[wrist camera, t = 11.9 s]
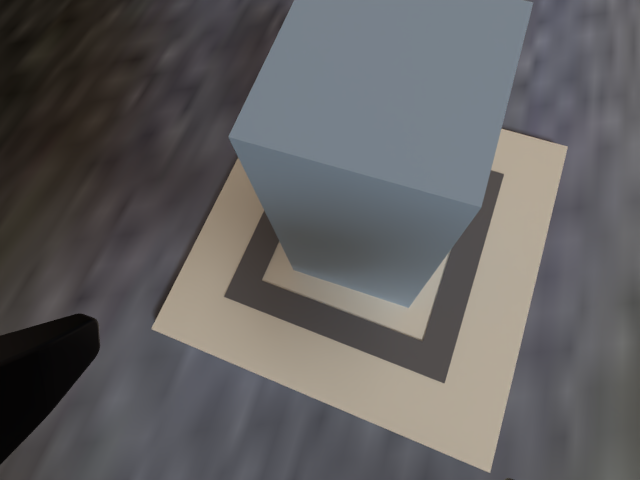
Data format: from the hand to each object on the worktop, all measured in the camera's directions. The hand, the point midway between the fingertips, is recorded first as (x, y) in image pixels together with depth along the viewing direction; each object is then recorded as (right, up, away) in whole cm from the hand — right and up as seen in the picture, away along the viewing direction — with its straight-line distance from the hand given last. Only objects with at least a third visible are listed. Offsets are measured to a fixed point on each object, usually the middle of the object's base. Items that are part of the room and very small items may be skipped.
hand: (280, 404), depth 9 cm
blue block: (+3, +4, +9) cm, 10 cm away
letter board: (+3, +3, +10) cm, 11 cm away
